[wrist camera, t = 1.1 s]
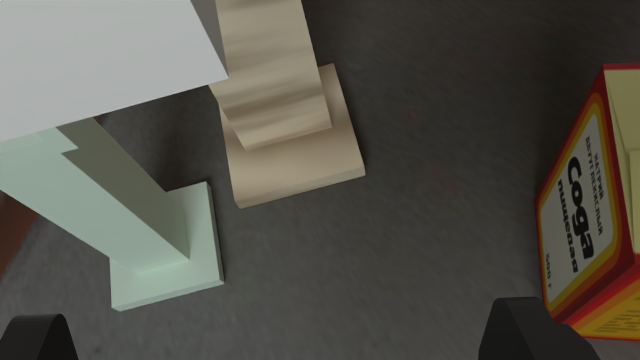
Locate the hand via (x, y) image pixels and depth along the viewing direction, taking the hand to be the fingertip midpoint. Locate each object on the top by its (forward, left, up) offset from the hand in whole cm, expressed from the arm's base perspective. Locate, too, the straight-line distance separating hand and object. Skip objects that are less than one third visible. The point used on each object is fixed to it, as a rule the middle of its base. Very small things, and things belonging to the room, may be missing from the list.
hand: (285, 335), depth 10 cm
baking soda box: (-15, +8, -27) cm, 32 cm away
